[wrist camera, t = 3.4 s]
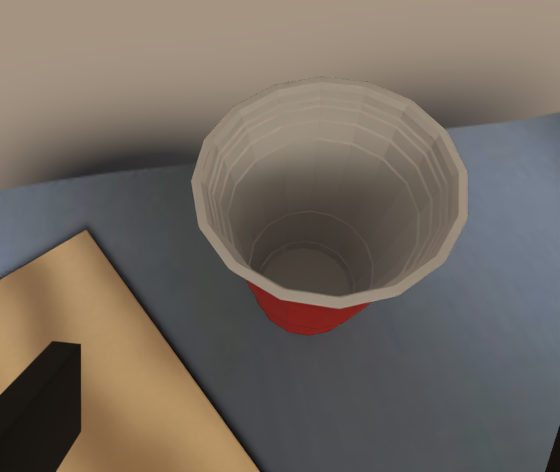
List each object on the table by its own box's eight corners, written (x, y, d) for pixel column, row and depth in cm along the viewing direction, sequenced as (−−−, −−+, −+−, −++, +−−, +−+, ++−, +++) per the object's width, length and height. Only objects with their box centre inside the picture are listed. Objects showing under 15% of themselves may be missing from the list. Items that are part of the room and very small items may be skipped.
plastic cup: (213, 211, 32) (196, 65, 21) (379, 212, 33) (442, 72, 22) (205, 383, 27) (178, 303, 16) (403, 380, 27) (500, 302, 17)
